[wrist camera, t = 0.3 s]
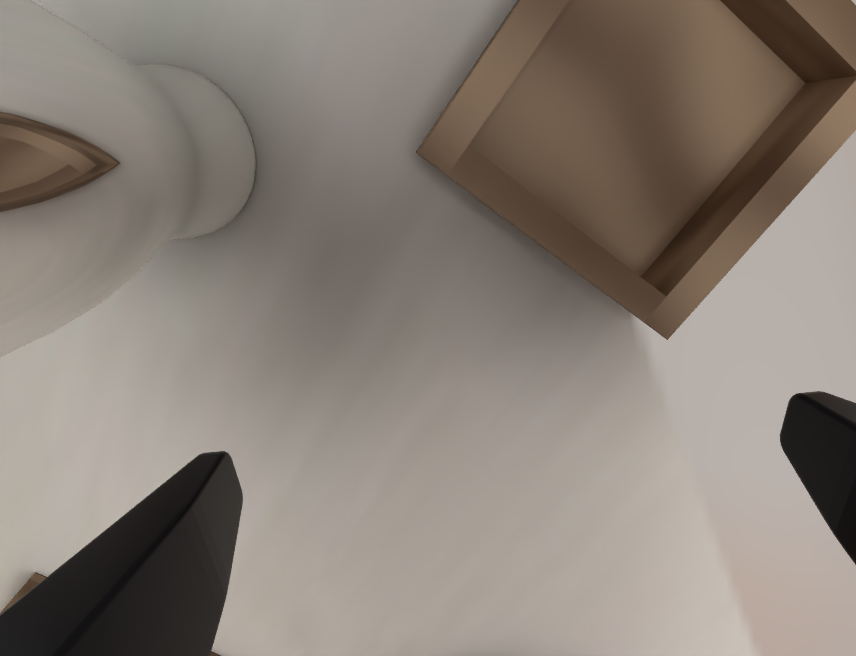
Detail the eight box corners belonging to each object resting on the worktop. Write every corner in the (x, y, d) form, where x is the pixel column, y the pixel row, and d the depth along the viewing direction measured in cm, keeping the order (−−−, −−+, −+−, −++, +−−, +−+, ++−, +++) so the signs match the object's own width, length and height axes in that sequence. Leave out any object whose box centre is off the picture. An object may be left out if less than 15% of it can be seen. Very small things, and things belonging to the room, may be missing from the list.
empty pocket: (636, 315, 23) (667, 339, 20) (416, 152, 20) (417, 153, 18) (843, 76, 20) (913, 65, 17) (617, -149, 17) (656, -204, 15)
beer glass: (187, 9, 18) (-539, -424, 4) (305, 187, 21) (78, 290, 6) (35, 121, 19) (-962, 68, 5) (163, 280, 22) (-307, 547, 7)
